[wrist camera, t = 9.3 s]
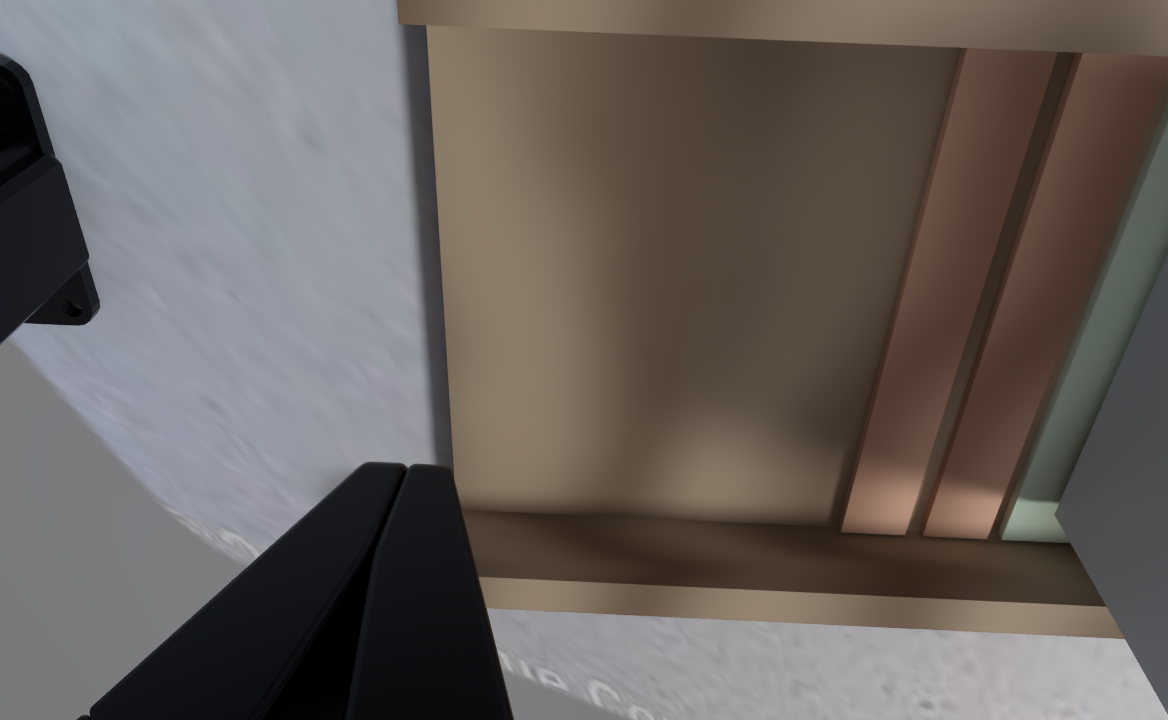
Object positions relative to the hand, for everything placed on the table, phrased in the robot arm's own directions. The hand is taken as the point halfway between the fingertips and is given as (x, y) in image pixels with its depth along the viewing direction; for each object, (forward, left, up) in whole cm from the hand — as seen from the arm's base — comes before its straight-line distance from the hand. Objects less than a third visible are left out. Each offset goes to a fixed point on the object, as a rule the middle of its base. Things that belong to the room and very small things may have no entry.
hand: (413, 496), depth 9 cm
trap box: (+10, -5, -13) cm, 17 cm away
